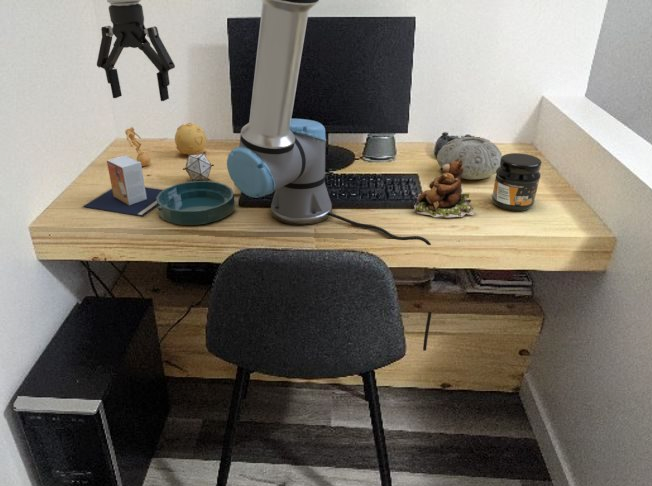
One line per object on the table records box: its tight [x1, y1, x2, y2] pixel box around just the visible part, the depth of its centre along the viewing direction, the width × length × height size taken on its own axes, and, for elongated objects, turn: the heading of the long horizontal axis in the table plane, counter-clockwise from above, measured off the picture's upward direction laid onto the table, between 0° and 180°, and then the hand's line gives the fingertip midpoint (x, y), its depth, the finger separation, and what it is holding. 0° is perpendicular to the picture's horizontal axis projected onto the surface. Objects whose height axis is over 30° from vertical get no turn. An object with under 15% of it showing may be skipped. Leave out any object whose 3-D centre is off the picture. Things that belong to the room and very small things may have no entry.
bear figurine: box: [413, 159, 475, 219], centre depth 137 cm, size 14×15×12 cm
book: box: [82, 186, 164, 218], centre depth 147 cm, size 18×16×1 cm
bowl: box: [156, 180, 236, 226], centre depth 140 cm, size 19×19×4 cm
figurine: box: [124, 126, 151, 167], centre depth 166 cm, size 8×6×12 cm
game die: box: [182, 150, 215, 182], centre depth 156 cm, size 9×8×10 cm
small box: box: [106, 155, 147, 205], centre depth 144 cm, size 8×6×10 cm
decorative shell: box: [436, 135, 503, 180], centre depth 158 cm, size 18×18×10 cm
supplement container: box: [491, 152, 542, 212], centre depth 139 cm, size 10×10×12 cm
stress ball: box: [174, 122, 207, 156], centre depth 174 cm, size 10×10×10 cm
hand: (140, 98), depth 137 cm, fingers open, 13 cm apart
